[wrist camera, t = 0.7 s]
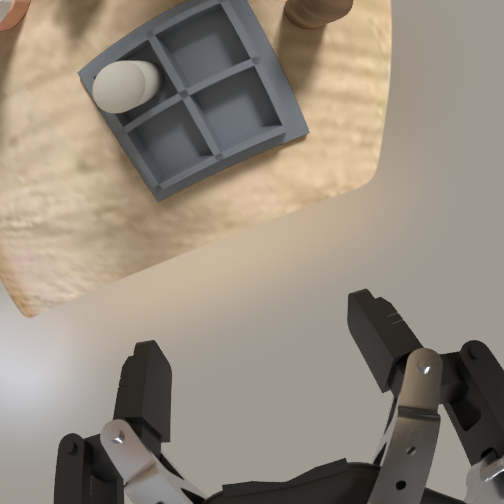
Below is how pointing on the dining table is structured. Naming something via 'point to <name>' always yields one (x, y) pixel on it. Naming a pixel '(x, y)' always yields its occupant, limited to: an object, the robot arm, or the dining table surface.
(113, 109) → the white dome-top cylinder
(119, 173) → the dining table surface
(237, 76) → the grey compartment tray
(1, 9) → the pepper shaker
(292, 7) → the brown domed cylinder
